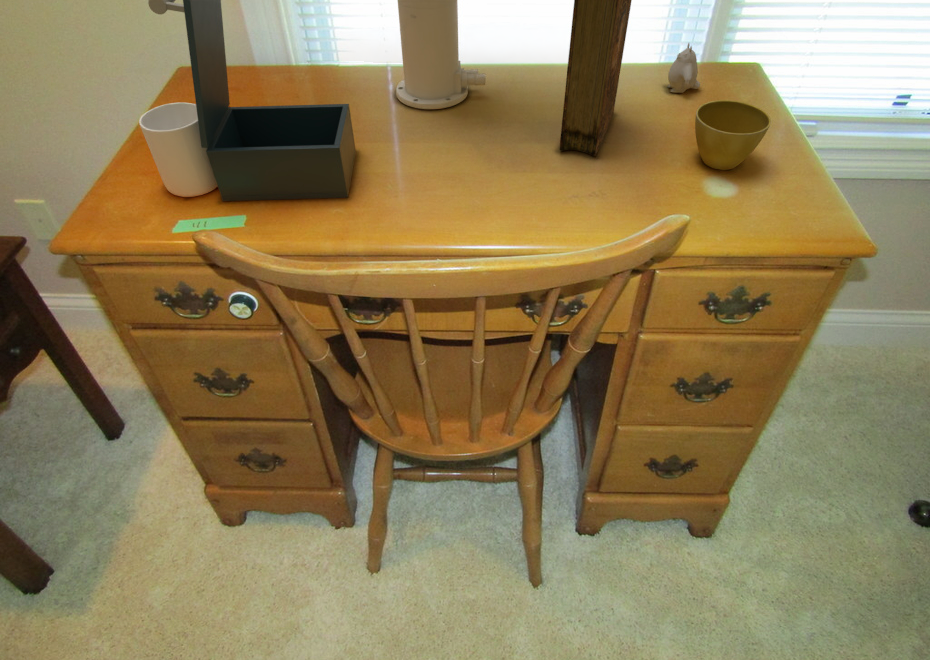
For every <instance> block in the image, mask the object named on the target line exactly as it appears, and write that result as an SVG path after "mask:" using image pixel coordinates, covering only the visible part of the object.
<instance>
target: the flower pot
mask: <svg viewBox="0 0 930 660" xmlns="http://www.w3.org/2000/svg"><path fill="white" fill-rule="evenodd" d="M771 123H772V119H771V117H770V115H769V113H767V112H766V111H765V110H763V109H761V108H760V107H758V106H755V105H753V104H750V103H748V102H744V101H738V100H731V99H720V100H719V99H717V100H713V101H708V102H704V103H702V104H701V105H699V106H698V107H697V109H696V111H695V120H694V132H695V133H694V134H695V141H696V145H697V150H698V153H699V155H700V158H701V160H702V162H703V163H704V165H706V166H708V167H709V168H712V169H713V170H714V169H715V170H720V171H727V170H733V169H735V168H736V167H737V166H739V165H740V164H741V163H743V162H744V161H745V160H746V159H747V158H748V157H749V156H750V155H751V154H752V153H753V152H754V151H755V149H756V148H757V147H758V145H760V143H761V141H762V140H763V139H764V137H765V136H766V133H767V132H768V130H769V128H770V126H771Z"/></svg>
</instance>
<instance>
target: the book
mask: <svg viewBox="0 0 930 660" xmlns="http://www.w3.org/2000/svg"><path fill="white" fill-rule="evenodd" d="M631 6H632V0H573V8H572V9H573V10H572V19H571V28H570V29H571V30H570V40H569V48H568V59H567V70H566V80H565V90H564V99H563V110H562V120H561V128H560V129H561V130H560V139H559V151H561V152H564V151H578V152H582V153H586V154H588V155H590V156H592V157H596V156H597V154H598V152H599V149H600V147H601V145H602V142H603V140H604V137H605V136H606V133H607V131H608V129H609V125H610V123H611V121H612V119H613V116H614V113H615V105H616V99H617V93H618V88H619V87H618V86H619V81H620V74H621V68H622V62H623V56H624V51H625V44H626V37H627V30H628V25H629V18H630V13H631Z"/></svg>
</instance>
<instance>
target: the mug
mask: <svg viewBox="0 0 930 660" xmlns="http://www.w3.org/2000/svg"><path fill="white" fill-rule="evenodd" d="M138 124H139V127H140V129H141V131H142V134H143V137H144V139H145V141H146V144H147V146H148V149H149V151H150V154H151V157H152V159H153V161H154V164H155V167H156V168H157V171H158V173H159V176H160V179H161V181H162V183H163V185H164V187H165V189H166V190H167V191H168V192H169V193H171V194H172V195H175V196H176V197H181V198H182V197H183V198H193V197H198V196H202V195H205V194H209V193H210V192H212V191H214V190H216V188H218V186H217V183H216V180H215V177H214V174H213V171H212V168H211V165H210V162H209V159H208V156H207V153H206V150H207V148H202V147H201V140H200V132H199V124H198V116H197V108H196V103H191V102H183V101H181V102H170V103H165V104H161V105H158V106H155V107H153V108H151V109H149V110H147V111H146V112H144V113H143V114H141V116H140V117H139V120H138Z"/></svg>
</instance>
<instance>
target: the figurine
mask: <svg viewBox="0 0 930 660" xmlns="http://www.w3.org/2000/svg"><path fill="white" fill-rule="evenodd" d="M697 60H698V59H697V54H696V52H695V51H694V50H693V47H692V46H690V42H688V43H687V46H686V48H685V49H683V51H681V52H679V53H678V54H677V56H676V59H675V60H674V61H673V62H672V64H671V66H670V67H669V70H668V74H667V80H668V85H667V87H666V88H670V89H669V90H668V92H669V93H675V94H676V93H678V94H682V93H685V92H686V91H688V90H689V89H692V90H698V89H700V87H701V82H700V81H698V80H697V79H698V78H697V77H698V72H699V71H698V61H697Z"/></svg>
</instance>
